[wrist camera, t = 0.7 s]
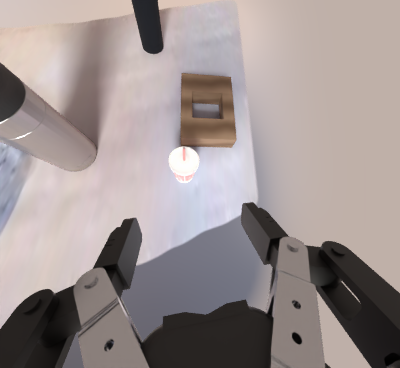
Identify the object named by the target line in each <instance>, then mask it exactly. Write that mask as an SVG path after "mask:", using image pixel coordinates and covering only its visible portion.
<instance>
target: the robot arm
mask: <svg viewBox="0 0 400 368" xmlns="http://www.w3.org/2000/svg"><path fill="white" fill-rule="evenodd" d="M0 142H2V143H4V144H6V145H9V146H11V147H13V148H16V149H18V150H20V151H23V152H25V153H27V154H30V155H32V156H34V157H37V158H39V159H41V160H43V161H46V162H48V163H50V164H53V165H55V166H57V167H60V168H62V169H64V170H67V171H80V170H83V169H85V168H87V167H88V166H90V165H91V164H92V162H93V161H94V159H95V157H96V153H97V150H96V147H95V145H94V143H93V142H92V141H91V140H90V139H88V138H87V137H86V136H85V135H84V134H83V133H82V132H80V131H79V130H78V129H77V128H76V127H75V126H73V125H72V124H71V123H70V122H69V121H68V120H67V119H65V118H64V117H63V116H62V115H61V114H60V113H58V112H57V111H56V110H55V109H54V108H53V107H51V106H50V105H49V104H48V103H47V102H46V101H44V100H43V99H42V98H41V97H40V96H39V95H37V94H36V93H35V92H34V91H33V90H32V89H30V88H29V87H28V86H27V85H26V84H25V83H23V82H22V81H21V80H20V79H19V78H18V77H17V76H15V75H14V74H13V73H12V72H11V71H9V70H8V69H7V68H6V67H5V66H4V65H2V64H1V63H0ZM241 223H242V226H243V228H244V230H245V232H246V233H247V235H248V237H249V239H250V241H251V242H252V244H253V246H254V247H255V249H256V251H257V253H258V255H259V256H260V258H261V260H262V262H263V264H264V265H266V264H271V266H272V267H273V268H272V273H271V281H270V288H269V296H268V302H267V307H266V312H264V311H262V310H260V309H257V308H254V307H249V306H248V304H247V302H246V300H242V301H236V302H232V303H227V304H225V305H223V306H221V307H220V308H218V309H216V310H214V311H213V312H211V313H209V314H206V315H204V314H195V313H187V312H184V313H179V314H173V315H168V316H164V317H163V324H162V325H160V326H159V327H157V328H156V329H155V330H154V331H153V332H152V333H150V334H149V335H148V336H147V338H146V339H145V340H144V341H142V339H141V337H140V335H139V333H138V331H137V329H136V328H135V325H134V323H133V321H132V319H131V317H130V315H129V313H128V311H127V309H126V307H125V305H124V302H123V300H122V298H121V295H122V292H123V290H125V289H130V286H131V282H132V278H133V274H134V270H135V266H136V262H137V258H138V254H139V250H140V246H141V243H142V233H141V230H140V227H139V224H138V221H137V219H136V218H130V219H124V220H123V222H122V225H121V227H117V228H116V229H115V230H114V231H113V232H112V233H111V234H110V236H109V238H108V241H107V242H106V244H105V247H104V248H103V250H102V252H101V254H100V256H99V257H98V259H97V261H96V263H95V265H94V267H93V269H92V270H90V271H88V272H86V273H85V274H84V275H82V276H81V277H80V278H79V280H78V281H77V282H76V284H75V285H73V286H71V287H69V288H67V289H64V290H62V291H60V292H58V293H54V292H53V291H52V290H50V289H44V290H41V291H38V292H36V293H34V294H32V295H31V296H29V297H28V298H27V299H25V300H24V301H23V302H22V303H21V304H20V305H19V306H18V307H17V308H16V309H15V310H14V312H13V313H12V314H11V316H10V317H9V318H8V320H7V321H6V322H5V324H4V325H3V326H2V328H1V329H0V368H62V366H63V364H64V362H65V359H66V357H67V354H68V352H69V349H70V346H71V344H72V341H73V339H74V336H75V334H76V332H78V331H79V332H78V338H79V344H80V349H81V354H82V359H83V364H84V368H330V367H329V366H328V365H327V364H326V363H325V361H324V353H323V344H322V335H321V328H320V320H319V310H318V302H317V293H316V290H317V292H318V293H319V294H320V296H321V297H322V299H323V300H324V301H325V303H326V304H327V306H328V307H329V308H330V310H331V311H332V313H333V314H334V315H335V317H336V318H337V320H338V321H339V323H340V324H341V325H342V327H343V328H344V330H345V331H346V332H347V334H348V335H349V337H350V338H351V339H352V341H353V342H354V344H355V345H356V346H357V348H358V349H359V351H360V352H361V353H362V355H363V356H364V358H365V359H366V360H367V362H368V363H369V365H370V366H371V367H372V368H400V293H399V292H398V291H396V290H395V289H394V288H393V287H392V286H391V285H390V284H388V283H387V282H386V281H385V280H384V279H383V278H382V277H380V276H379V275H378V274H377V273H376V272H374V270H372V269H371V268H370V267H369V266H368V265H367V264H365V263H364V262H363V261H362V260H361V259H360V258H359V257H357V256H356V255H355V254H354V253H353V252H352V251H351V250H349V249H348V248H347V247H345V246H343V245H341V244H339V243H336V242H332V241H326V242H324V243H323V244H322V246H321V247H314V246H306V245H304V243H302V242H301V241H300V240H298V239H296V238H293V237H289V236H288V235H287V234H286V233H285V231H284V230H283V229H282V228H281V227H280V226H279V225H278V224H277V222H276V221H275V220H274V219H273V218H272V217H271V216H270V214H269V213H268V212H267V211H265V210H264V209H262V208H258V207H257V206H256V205H255V204H254V203H253V202H250V203H243V205H242V214H241ZM341 281H343V282H344V283H345V284H346V286H347V287H348V288H349V289H350V290H351V291H352V292H353V293H354V295H355V296H356V297H357V298H358V299H359V301H360V302H358V300H357V299H356V298H355V297H354V296H353V295H352V293H351V292H350V291H349V290H348V289H347V288H346V287H345V286H344V284H343V283H342V282H341ZM360 303H361V304H360Z"/></svg>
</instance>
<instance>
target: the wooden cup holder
mask: <svg viewBox="0 0 400 368" xmlns="http://www.w3.org/2000/svg"><path fill="white" fill-rule="evenodd" d="M192 103H202V104H219V114H220V119H210V118H192ZM235 141H236V129H235V118H234V106H233V95H232V83H231V77H223V76H211V75H198V74H186V73H182V79H181V146H198V147H229V148H232V146H233V145H234V143H235Z"/></svg>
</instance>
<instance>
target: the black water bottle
mask: <svg viewBox="0 0 400 368" xmlns="http://www.w3.org/2000/svg"><path fill="white" fill-rule="evenodd" d="M132 4H133V8H134V12H135V17H136V21H137V25H138V29H139V33H140V37H141V41H142V46H143V49H144V50H145V51H146V52H148V53H151V54H157V53H159V52H161V51H162V49H163V40H162V32H161V24H160V16H159V8H158V0H132Z"/></svg>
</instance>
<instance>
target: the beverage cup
mask: <svg viewBox="0 0 400 368" xmlns="http://www.w3.org/2000/svg"><path fill="white" fill-rule="evenodd" d="M169 165H170V168H171V169H172V171H173V172H174V174H175V177H176V178H177V180H178V181H180V182H182V183H187V182H189V181H191V179H192V178H193V176H194V173H195V171H196V170H197V168H198V166H199V156H198V154H197V153H196V152H195V150H193V149H191V148H190V147H185V146H183V147H178V148H176V149H174V150H173V151H172V153H171V154H170V156H169Z"/></svg>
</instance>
